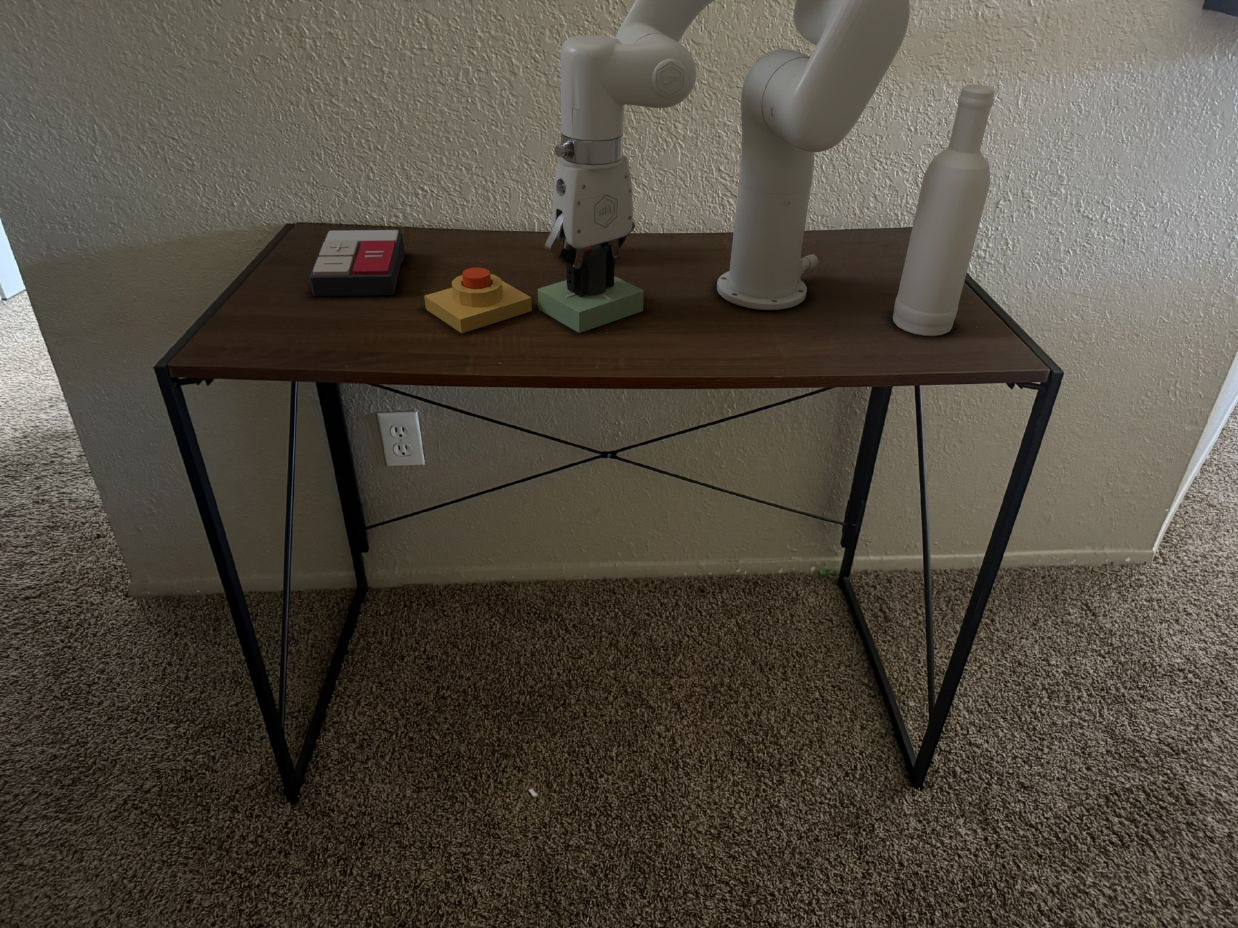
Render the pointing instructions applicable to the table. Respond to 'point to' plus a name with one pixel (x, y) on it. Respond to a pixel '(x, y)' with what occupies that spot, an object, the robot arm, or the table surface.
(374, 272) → the calculator
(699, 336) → the table surface
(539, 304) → the dial panel
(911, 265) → the bottle
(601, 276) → the lock dial
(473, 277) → the button
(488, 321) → the tan flat block
